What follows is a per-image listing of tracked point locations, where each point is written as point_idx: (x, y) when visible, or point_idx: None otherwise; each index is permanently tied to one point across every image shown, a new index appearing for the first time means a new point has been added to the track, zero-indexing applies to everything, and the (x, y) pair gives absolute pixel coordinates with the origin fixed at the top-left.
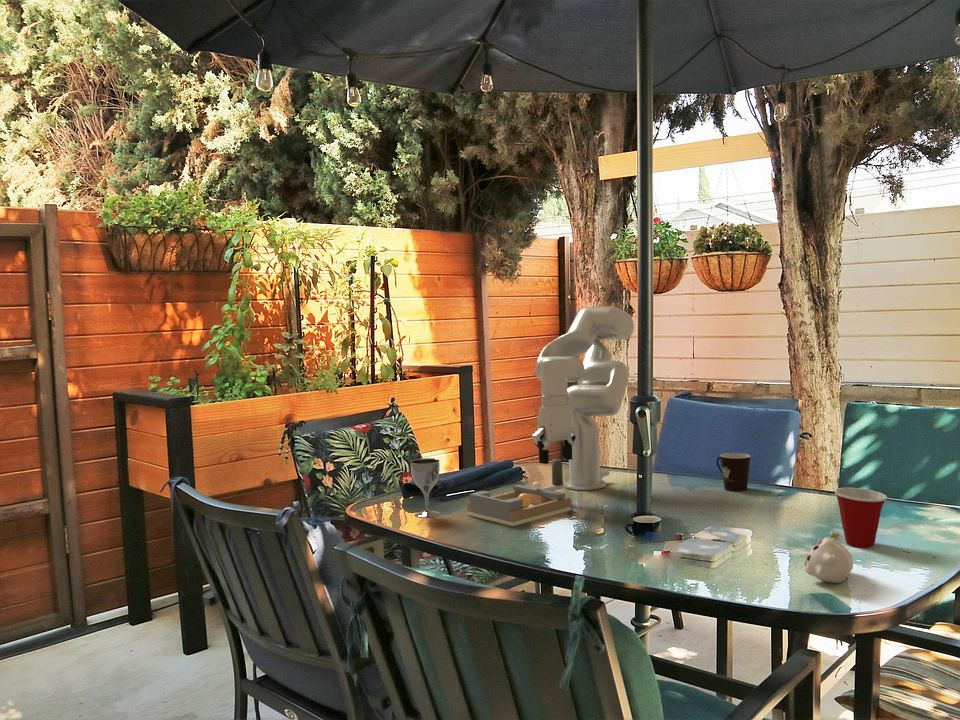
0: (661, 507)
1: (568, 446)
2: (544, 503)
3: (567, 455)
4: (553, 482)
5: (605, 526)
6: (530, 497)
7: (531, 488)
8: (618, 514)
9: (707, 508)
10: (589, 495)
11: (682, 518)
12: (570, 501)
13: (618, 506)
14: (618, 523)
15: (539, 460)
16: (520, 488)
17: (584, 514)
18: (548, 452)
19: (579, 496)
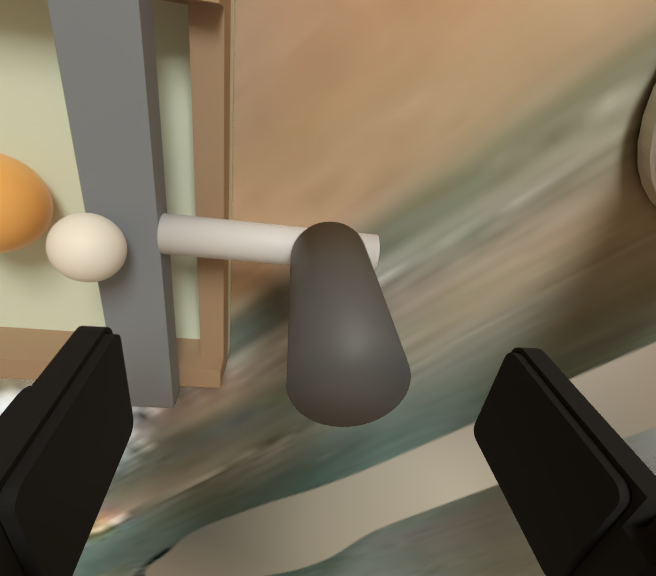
0: (439, 509)
1: (564, 567)
2: (24, 368)
3: (502, 436)
4: (291, 258)
5: (145, 513)
6: (17, 247)
7: (109, 164)
8: (291, 477)
9: (476, 566)
10: (530, 256)
11: (351, 572)
12: (223, 374)
13: (389, 432)
14: (200, 518)
15: (70, 343)
16: (60, 42)
17: (214, 412)
18: (75, 565)
19: (492, 227)
